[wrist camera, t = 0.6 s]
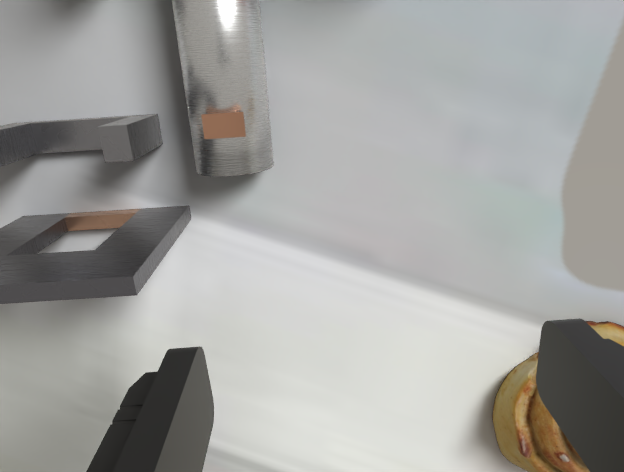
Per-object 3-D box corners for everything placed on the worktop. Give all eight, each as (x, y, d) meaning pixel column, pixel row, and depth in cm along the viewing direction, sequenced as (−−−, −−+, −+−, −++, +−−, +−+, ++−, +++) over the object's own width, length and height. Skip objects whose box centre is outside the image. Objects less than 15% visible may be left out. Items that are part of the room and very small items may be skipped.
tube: (167, -109, 27) (138, -146, 23) (252, -114, 27) (241, -153, 23) (204, 162, 33) (188, 179, 28) (275, 158, 33) (271, 174, 28)
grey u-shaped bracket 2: (13, 123, 31) (-50, 136, 26) (157, 114, 31) (126, 124, 26) (21, 152, 32) (-38, 171, 27) (162, 144, 32) (133, 160, 27)
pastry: (649, 306, 38) (735, 366, 30) (640, 449, 43) (712, 530, 35) (484, 336, 38) (528, 402, 31) (495, 473, 43) (535, 558, 36)
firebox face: (22, 216, 34) (-117, 292, 22) (189, 205, 34) (133, 276, 22) (26, 229, 34) (-110, 310, 23) (191, 218, 34) (136, 295, 23)
